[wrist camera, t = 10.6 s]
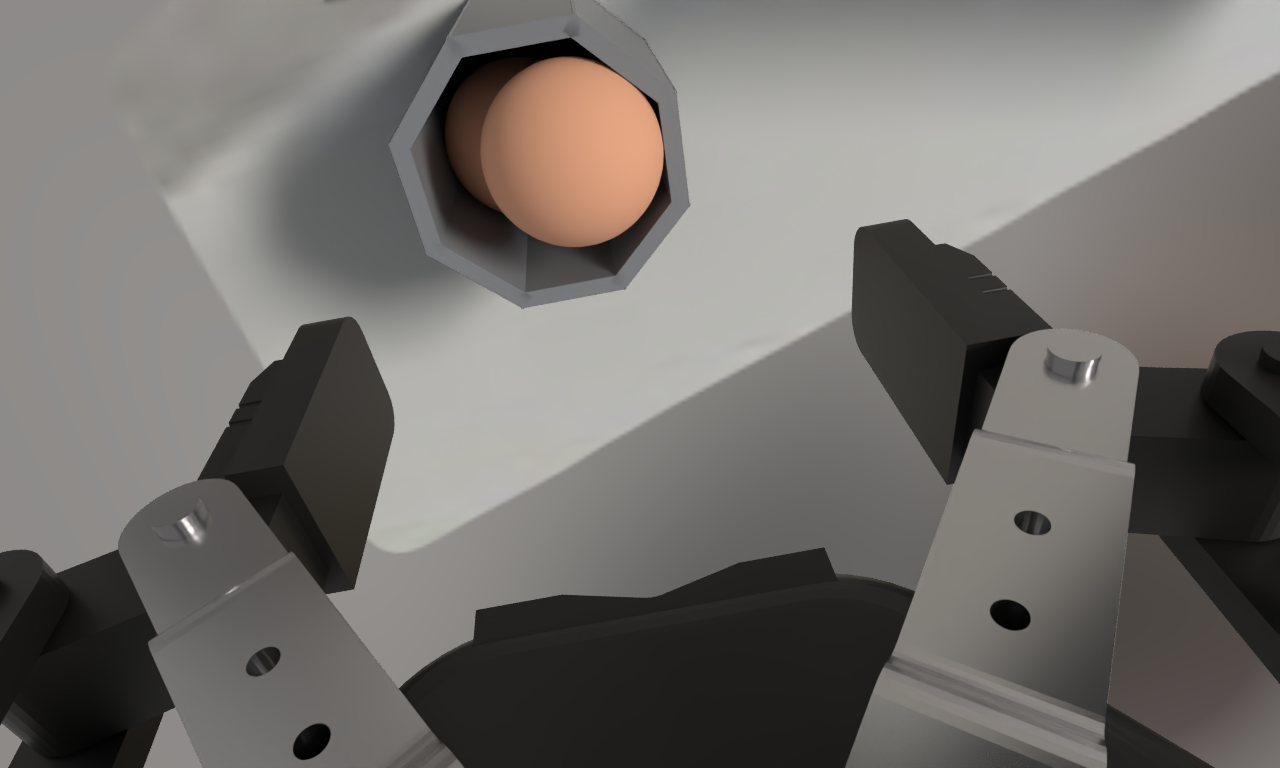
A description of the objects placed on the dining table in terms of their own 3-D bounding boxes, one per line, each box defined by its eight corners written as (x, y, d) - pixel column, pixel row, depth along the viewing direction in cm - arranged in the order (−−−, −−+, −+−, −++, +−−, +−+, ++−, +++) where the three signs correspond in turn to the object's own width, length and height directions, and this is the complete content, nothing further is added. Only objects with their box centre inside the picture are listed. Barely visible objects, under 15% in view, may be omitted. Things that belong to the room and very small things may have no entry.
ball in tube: (458, 41, 31) (395, 100, 26) (598, 27, 29) (554, 87, 25) (499, 175, 35) (449, 246, 30) (623, 169, 33) (589, 243, 29)
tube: (402, 8, 29) (355, 53, 22) (634, -36, 29) (665, -5, 22) (469, 226, 35) (449, 322, 27) (665, 190, 35) (698, 276, 27)
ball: (412, 104, 23) (559, 32, 20) (527, 82, 28) (661, 21, 24) (486, 285, 25) (632, 248, 22) (582, 236, 30) (714, 200, 26)
